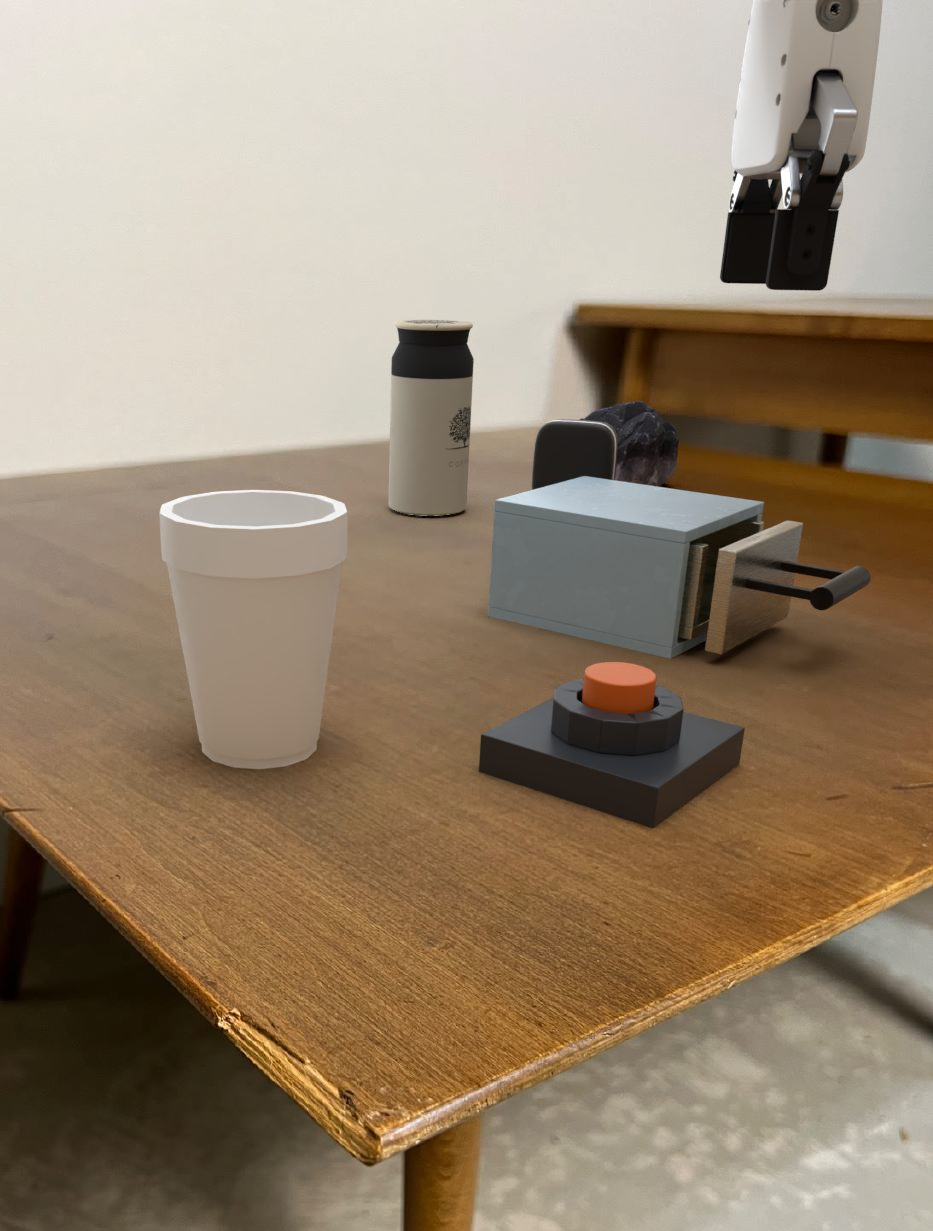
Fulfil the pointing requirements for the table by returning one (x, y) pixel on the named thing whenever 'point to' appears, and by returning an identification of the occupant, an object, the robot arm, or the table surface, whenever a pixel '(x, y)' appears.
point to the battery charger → (574, 451)
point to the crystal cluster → (641, 443)
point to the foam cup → (255, 616)
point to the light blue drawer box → (603, 559)
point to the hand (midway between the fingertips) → (769, 285)
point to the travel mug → (430, 417)
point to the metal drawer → (752, 582)
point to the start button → (619, 687)
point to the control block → (613, 754)
